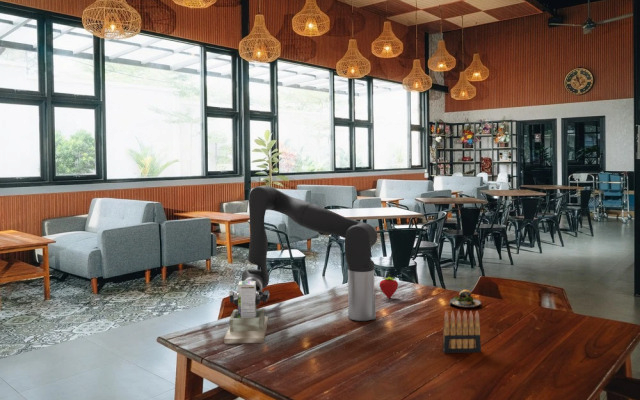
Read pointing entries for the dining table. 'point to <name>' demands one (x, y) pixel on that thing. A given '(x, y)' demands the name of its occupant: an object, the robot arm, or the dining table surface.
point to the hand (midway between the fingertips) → (246, 302)
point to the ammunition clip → (461, 334)
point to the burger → (464, 300)
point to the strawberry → (388, 286)
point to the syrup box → (246, 299)
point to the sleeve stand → (247, 328)
